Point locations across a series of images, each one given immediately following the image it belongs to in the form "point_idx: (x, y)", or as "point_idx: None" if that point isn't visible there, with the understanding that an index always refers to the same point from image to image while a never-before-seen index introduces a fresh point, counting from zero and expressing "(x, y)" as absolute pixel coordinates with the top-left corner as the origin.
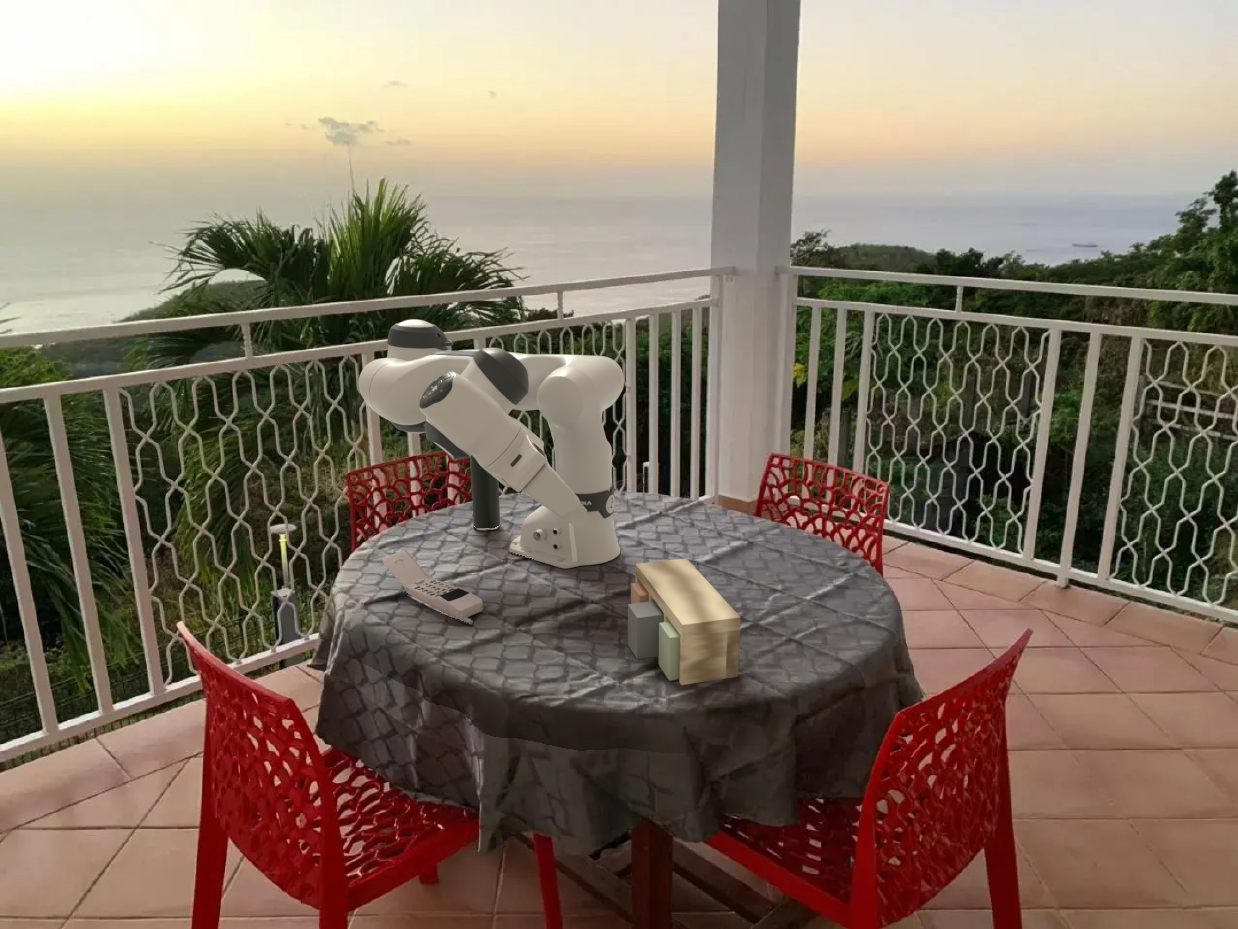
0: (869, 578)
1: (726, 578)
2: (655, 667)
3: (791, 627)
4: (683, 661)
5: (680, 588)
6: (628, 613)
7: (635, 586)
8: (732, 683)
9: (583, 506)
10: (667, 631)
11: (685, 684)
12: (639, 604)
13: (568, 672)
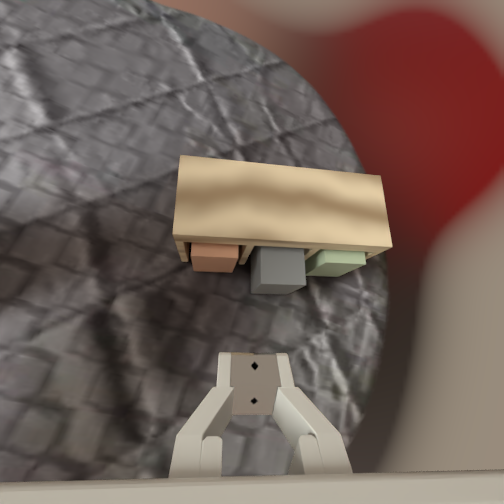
0: (181, 13)
1: (115, 120)
2: None
3: (258, 124)
4: None
5: (285, 206)
6: (261, 286)
7: (204, 253)
8: None
9: (257, 361)
10: (349, 260)
11: None
12: (266, 268)
13: None
